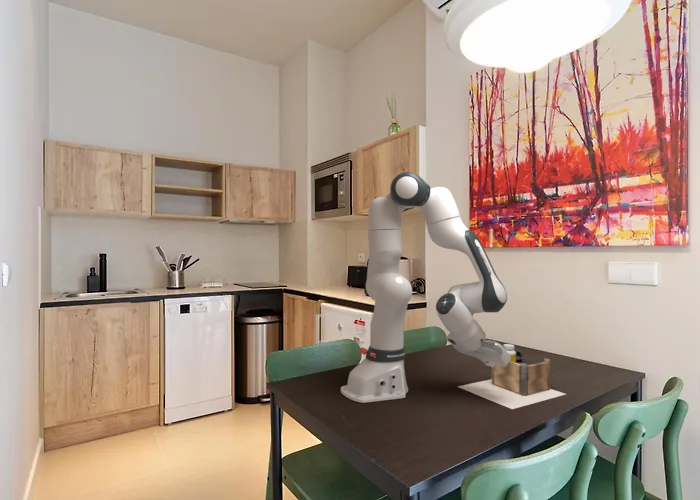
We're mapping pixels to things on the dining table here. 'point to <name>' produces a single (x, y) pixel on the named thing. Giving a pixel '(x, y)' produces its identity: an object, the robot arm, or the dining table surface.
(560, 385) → the dining table surface
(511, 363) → the folding fence section
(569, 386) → the dining table surface
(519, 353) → the black blocky piece
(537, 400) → the card
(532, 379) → the fixed fence section
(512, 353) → the supplement bottle
